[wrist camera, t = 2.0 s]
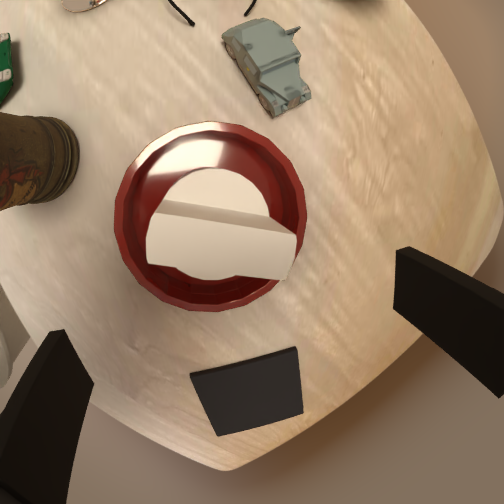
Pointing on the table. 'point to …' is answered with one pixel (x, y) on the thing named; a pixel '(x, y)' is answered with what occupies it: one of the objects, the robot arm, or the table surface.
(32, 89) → the table surface
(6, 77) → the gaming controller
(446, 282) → the robot arm
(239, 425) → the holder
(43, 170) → the container
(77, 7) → the wineglass
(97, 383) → the table surface
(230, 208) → the base with upright slab
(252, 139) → the red round dish
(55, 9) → the table surface
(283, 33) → the toy car
